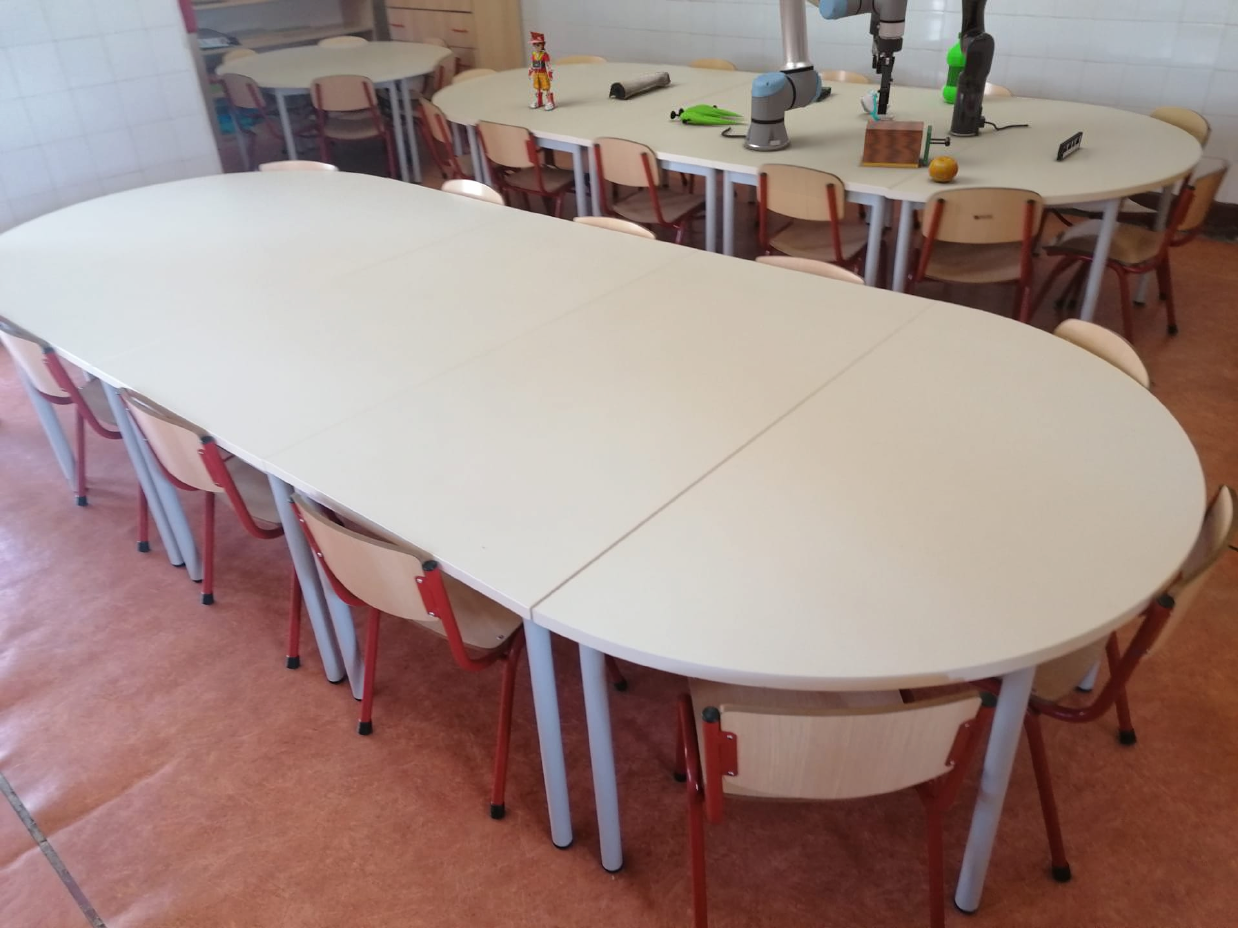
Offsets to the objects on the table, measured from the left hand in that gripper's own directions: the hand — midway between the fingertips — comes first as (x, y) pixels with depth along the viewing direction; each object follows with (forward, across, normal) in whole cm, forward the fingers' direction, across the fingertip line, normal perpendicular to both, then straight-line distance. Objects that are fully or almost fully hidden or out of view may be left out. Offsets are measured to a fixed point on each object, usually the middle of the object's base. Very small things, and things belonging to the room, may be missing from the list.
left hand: (882, 109), depth 288 cm
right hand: (-7, -21, -4) cm, 22 cm away
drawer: (+16, 0, +11) cm, 19 cm away
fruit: (+17, +18, +20) cm, 32 cm away
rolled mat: (+16, -92, -107) cm, 142 cm away
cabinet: (+17, 0, +4) cm, 17 cm away
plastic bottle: (+16, -82, +24) cm, 88 cm away
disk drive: (+16, -87, -31) cm, 94 cm away
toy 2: (+16, -46, -66) cm, 82 cm away
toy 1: (+16, -62, -142) cm, 156 cm away
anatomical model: (+16, -57, -4) cm, 60 cm away
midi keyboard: (+17, -15, +60) cm, 64 cm away
